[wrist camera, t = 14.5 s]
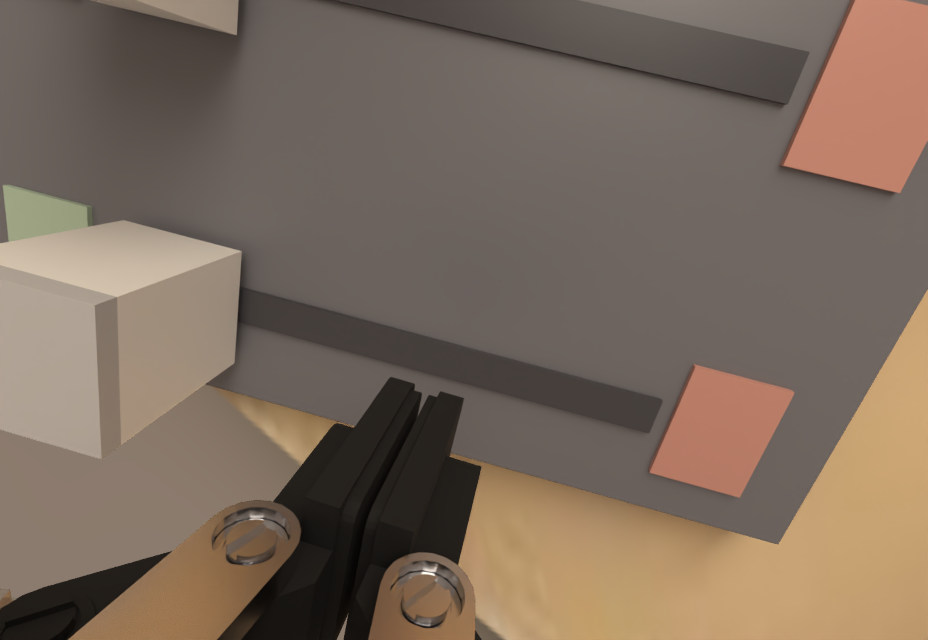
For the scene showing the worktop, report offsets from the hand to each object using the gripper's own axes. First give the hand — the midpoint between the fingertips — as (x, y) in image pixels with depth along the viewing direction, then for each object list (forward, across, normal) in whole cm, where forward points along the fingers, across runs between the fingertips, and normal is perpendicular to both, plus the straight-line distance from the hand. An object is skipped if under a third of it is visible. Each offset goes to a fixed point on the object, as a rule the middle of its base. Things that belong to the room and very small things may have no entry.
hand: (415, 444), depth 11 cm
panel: (+8, +3, -4) cm, 9 cm away
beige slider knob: (+5, +9, +1) cm, 11 cm away
